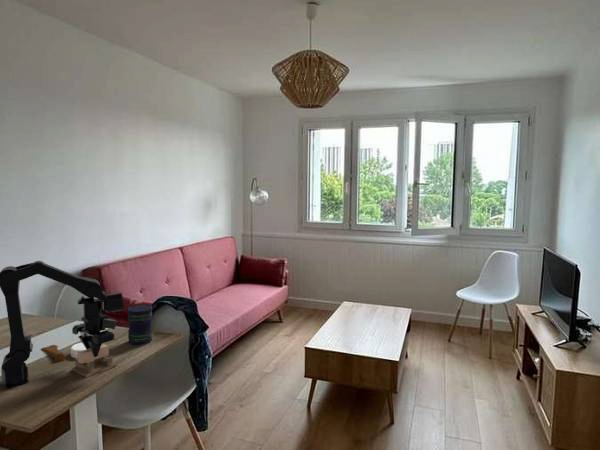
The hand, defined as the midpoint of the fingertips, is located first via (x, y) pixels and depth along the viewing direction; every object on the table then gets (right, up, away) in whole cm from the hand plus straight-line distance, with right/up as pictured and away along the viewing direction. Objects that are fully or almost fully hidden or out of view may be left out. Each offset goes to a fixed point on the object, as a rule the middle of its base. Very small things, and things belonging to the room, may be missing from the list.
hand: (93, 355), depth 150 cm
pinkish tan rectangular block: (0, -1, 0) cm, 1 cm away
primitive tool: (-23, -4, +13) cm, 26 cm away
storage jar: (+7, -3, +27) cm, 28 cm away
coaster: (-10, -4, +14) cm, 18 cm away
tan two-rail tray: (0, -5, 0) cm, 5 cm away
